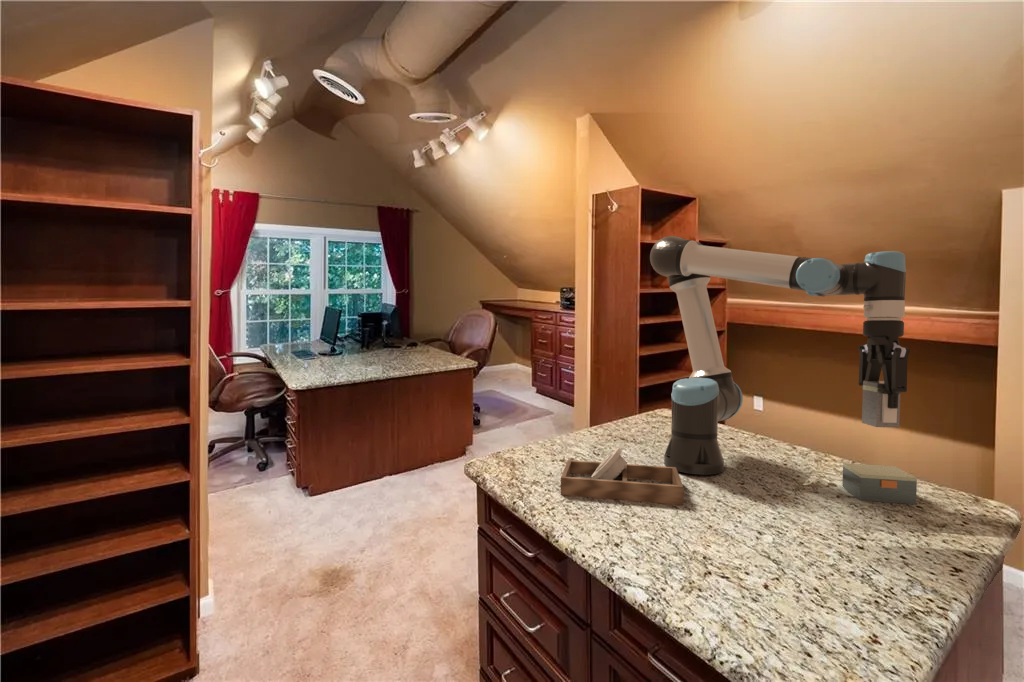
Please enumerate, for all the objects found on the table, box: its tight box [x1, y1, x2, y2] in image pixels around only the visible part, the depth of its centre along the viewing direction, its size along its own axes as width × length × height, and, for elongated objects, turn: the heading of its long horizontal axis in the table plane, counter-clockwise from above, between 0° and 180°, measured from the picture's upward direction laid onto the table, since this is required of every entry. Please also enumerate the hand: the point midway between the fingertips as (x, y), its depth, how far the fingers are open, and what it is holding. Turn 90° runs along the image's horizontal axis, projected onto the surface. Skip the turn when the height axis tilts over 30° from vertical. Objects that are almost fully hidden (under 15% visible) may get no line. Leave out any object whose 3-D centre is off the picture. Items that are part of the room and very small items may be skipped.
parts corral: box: [560, 459, 684, 506], centre depth 117 cm, size 27×15×4 cm, turn 77°
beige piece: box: [590, 447, 628, 480], centre depth 119 cm, size 10×4×10 cm
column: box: [861, 380, 901, 429], centre depth 113 cm, size 5×5×10 cm
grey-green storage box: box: [842, 462, 918, 505], centre depth 113 cm, size 11×9×6 cm
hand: (880, 419), depth 113 cm, fingers closed on column, 5 cm apart
